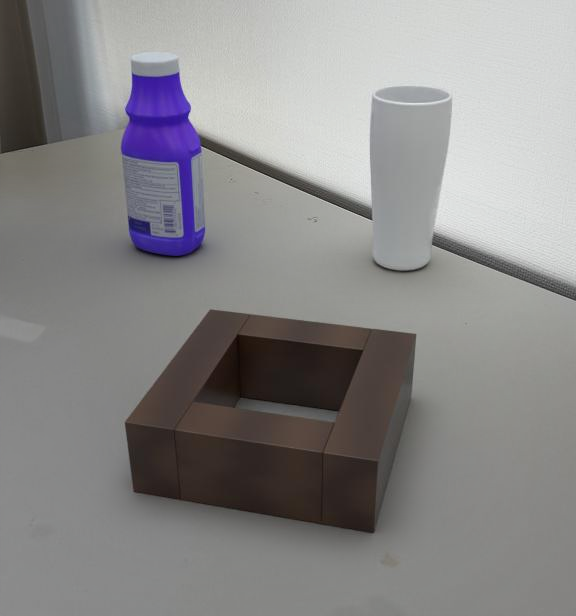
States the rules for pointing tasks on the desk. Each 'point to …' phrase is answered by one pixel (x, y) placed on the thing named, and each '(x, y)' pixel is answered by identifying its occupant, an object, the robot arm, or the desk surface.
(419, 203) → the drinking glass
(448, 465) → the desk surface
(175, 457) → the frame
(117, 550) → the desk surface
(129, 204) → the bottle
